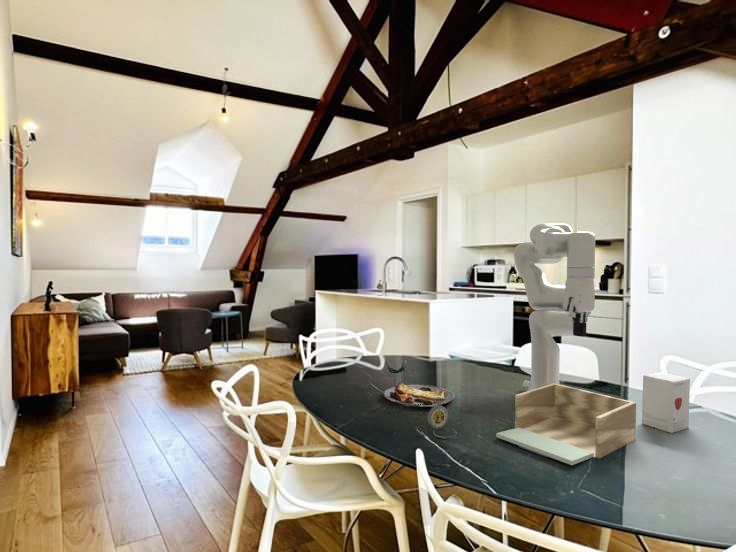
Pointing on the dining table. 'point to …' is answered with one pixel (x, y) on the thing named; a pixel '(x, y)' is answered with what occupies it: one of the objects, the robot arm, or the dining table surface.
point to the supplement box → (666, 401)
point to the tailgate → (545, 446)
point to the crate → (577, 417)
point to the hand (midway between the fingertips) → (579, 335)
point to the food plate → (418, 395)
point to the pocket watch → (436, 413)
